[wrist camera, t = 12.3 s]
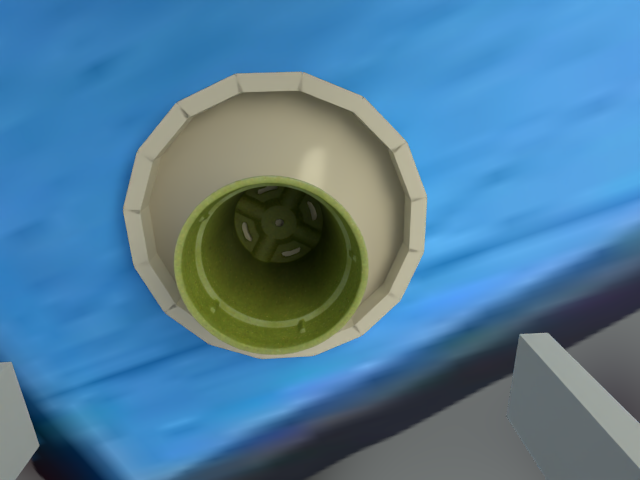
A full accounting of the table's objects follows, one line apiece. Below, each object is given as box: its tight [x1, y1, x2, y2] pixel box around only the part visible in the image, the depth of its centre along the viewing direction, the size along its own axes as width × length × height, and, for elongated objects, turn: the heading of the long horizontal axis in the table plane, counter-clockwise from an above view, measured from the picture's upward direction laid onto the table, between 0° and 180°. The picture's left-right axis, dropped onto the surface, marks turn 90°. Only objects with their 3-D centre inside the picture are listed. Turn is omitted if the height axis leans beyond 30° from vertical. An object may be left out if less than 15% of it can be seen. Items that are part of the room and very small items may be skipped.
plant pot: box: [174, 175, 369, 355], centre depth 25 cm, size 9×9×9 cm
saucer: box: [123, 72, 427, 359], centre depth 28 cm, size 19×19×2 cm
